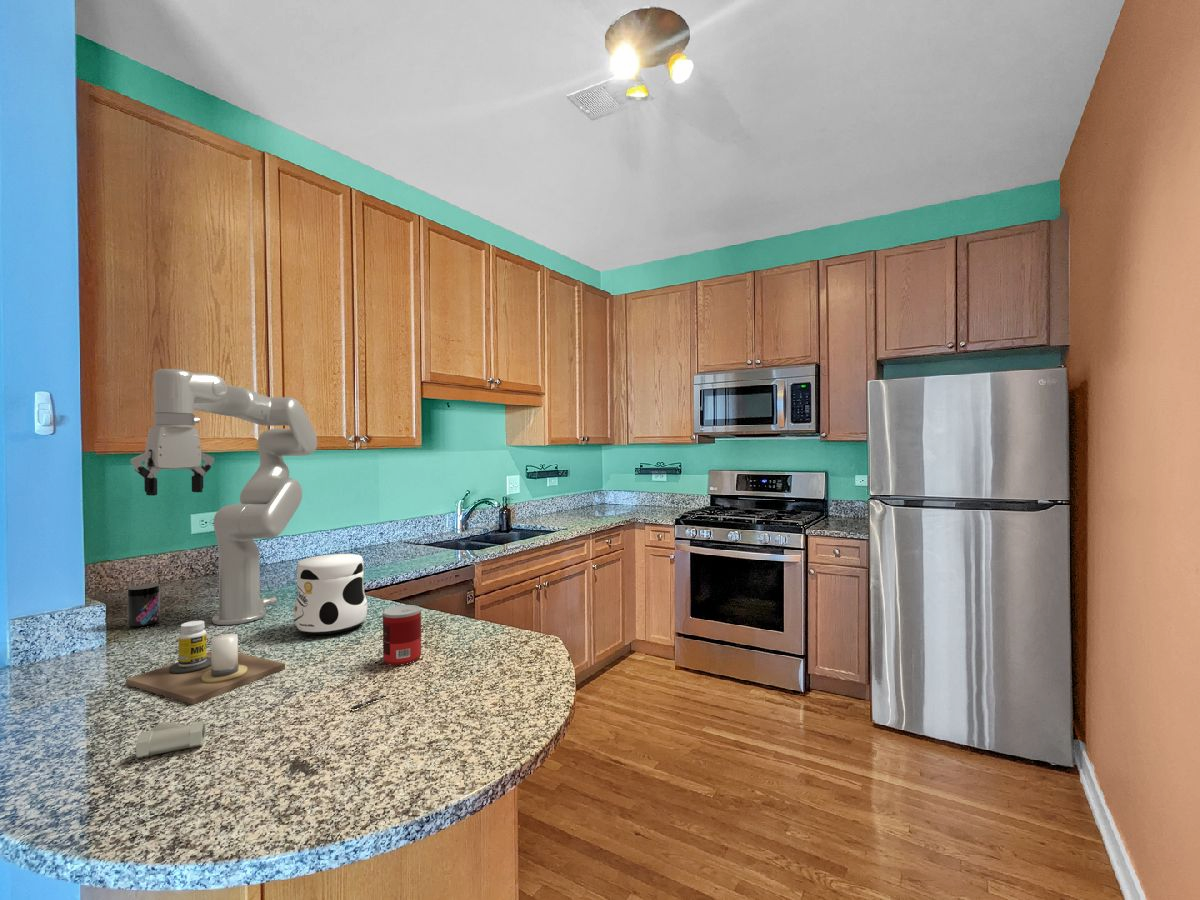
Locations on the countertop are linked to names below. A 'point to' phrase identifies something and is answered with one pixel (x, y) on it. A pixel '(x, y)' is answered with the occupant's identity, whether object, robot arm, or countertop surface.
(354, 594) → the milk container
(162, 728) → the pipe fitting
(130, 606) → the supplement container
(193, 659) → the supplement bottle
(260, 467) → the robot arm
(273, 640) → the countertop surface
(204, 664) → the pin board
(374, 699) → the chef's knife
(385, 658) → the canned food
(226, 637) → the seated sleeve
